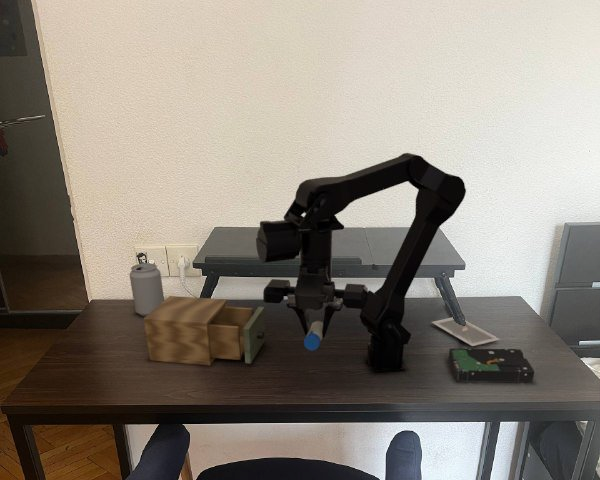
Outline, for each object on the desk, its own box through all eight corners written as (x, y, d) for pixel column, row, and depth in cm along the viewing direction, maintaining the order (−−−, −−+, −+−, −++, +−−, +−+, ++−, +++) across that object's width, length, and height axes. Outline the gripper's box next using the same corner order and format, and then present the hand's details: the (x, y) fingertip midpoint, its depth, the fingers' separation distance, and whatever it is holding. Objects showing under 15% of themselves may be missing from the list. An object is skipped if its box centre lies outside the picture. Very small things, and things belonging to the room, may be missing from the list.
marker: (312, 333, 115) (310, 319, 114) (326, 333, 114) (324, 318, 113) (304, 350, 108) (302, 335, 107) (320, 350, 107) (317, 334, 106)
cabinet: (230, 339, 133) (226, 299, 128) (210, 365, 122) (206, 323, 117) (174, 334, 136) (169, 295, 131) (150, 360, 124) (143, 318, 119)
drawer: (271, 339, 130) (269, 307, 126) (256, 364, 120) (254, 329, 116) (213, 335, 133) (210, 303, 129) (193, 359, 122) (189, 324, 118)
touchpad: (456, 320, 141) (457, 312, 140) (499, 343, 129) (501, 334, 128) (430, 326, 138) (431, 317, 137) (471, 350, 126) (473, 341, 125)
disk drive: (517, 360, 122) (447, 359, 123) (520, 348, 121) (448, 347, 121) (532, 384, 113) (456, 382, 114) (535, 371, 112) (458, 370, 112)
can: (142, 306, 152) (135, 261, 146) (169, 307, 151) (163, 262, 145) (131, 316, 145) (123, 270, 139) (159, 318, 144) (153, 271, 138)
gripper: (253, 266, 98) (257, 350, 106) (363, 272, 95) (359, 358, 103) (269, 248, 107) (272, 326, 115) (369, 253, 104) (365, 333, 112)
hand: (315, 336), depth 111 cm, fingers closed on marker, 3 cm apart
